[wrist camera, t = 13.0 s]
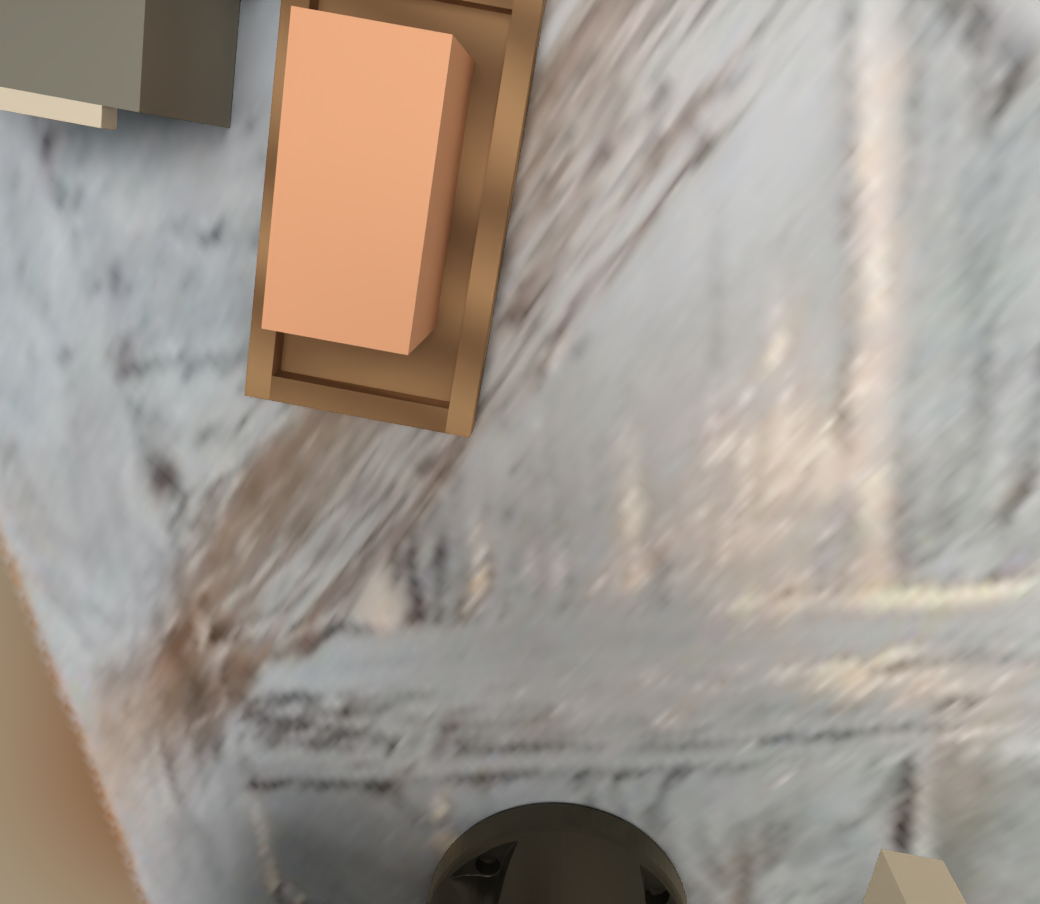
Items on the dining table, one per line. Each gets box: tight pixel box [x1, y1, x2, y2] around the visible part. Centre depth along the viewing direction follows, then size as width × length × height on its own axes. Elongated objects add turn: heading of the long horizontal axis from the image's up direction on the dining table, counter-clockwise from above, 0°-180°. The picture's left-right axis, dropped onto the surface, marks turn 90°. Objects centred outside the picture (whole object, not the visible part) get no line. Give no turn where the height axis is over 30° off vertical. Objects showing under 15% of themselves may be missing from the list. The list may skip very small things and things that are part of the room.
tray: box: [245, 0, 546, 437], centre depth 42 cm, size 20×11×2 cm, turn 170°
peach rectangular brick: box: [261, 6, 475, 355], centre depth 39 cm, size 12×6×8 cm, turn 170°
